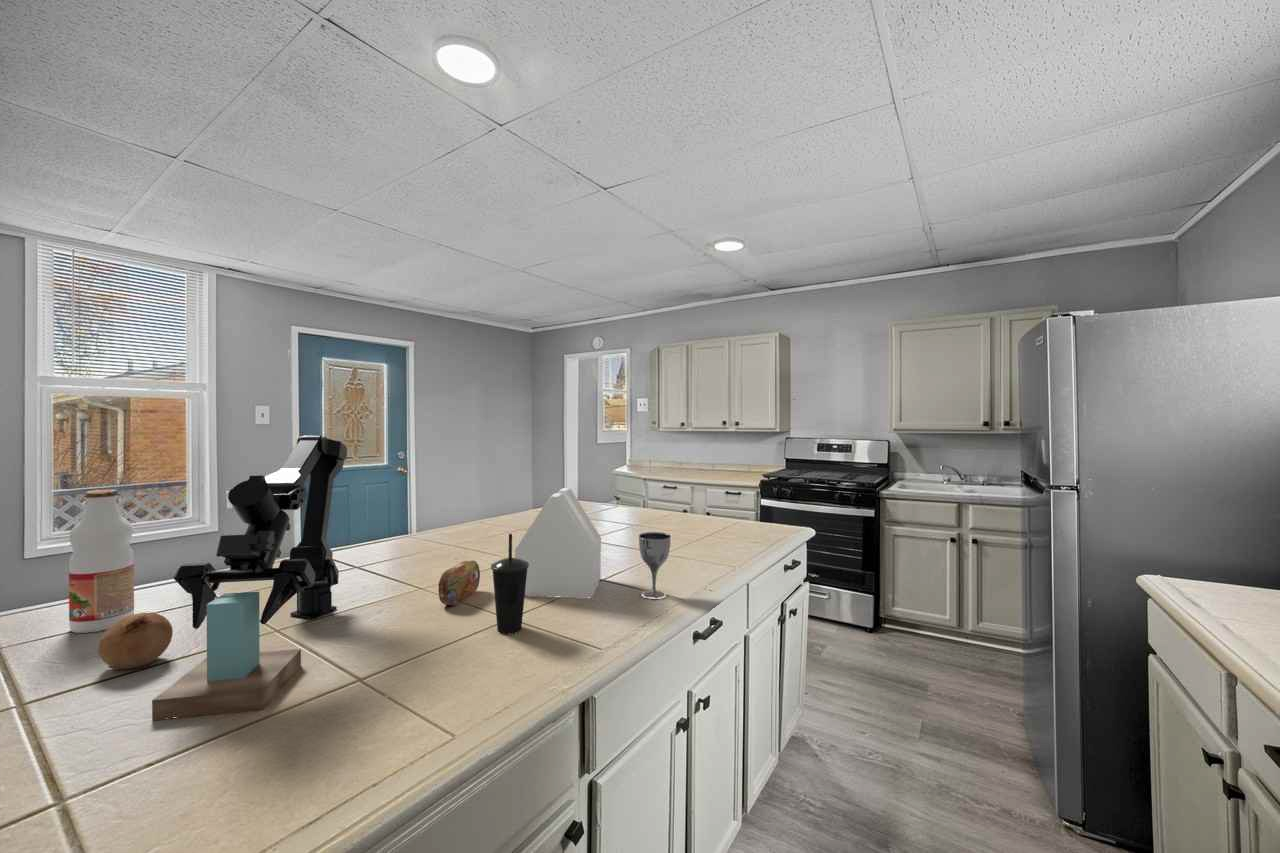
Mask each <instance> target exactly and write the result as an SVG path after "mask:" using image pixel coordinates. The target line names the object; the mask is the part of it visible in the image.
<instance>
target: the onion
mask: <svg viewBox="0 0 1280 853" xmlns="http://www.w3.org/2000/svg"><path fill="white" fill-rule="evenodd" d="M173 633H174V632H173V626H172V623H171V622H170V621H169V620H168V618H166V617H165V616H164V615H161V614H158V613H155V612H140V613H134V615H130V616H128V617H125V618H123V619H121V620H119V621H117V622H116V623H115V624H113V625H112V626H111V627H110V628H109V629H107V630H105V632H103V634H102V636H101V638H100V640H99V643H98V654H99V656H100V659H101V660H102V661H103V662H104V663H105V664H106V665H108V666H107V668H108V669H113V670H115V669H116V670H117V669H118V670H132V669H133V670H134V669H137V668H141V667H143V666H147V665H149V664H151V663H153V662H155V660H156V659H158V658H159V657H160V656H161V655H162V654H164V652H165V651H166V650H167V649H168V646H169V645H170V643H171V642H172V639H173Z"/></svg>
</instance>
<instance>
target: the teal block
mask: <svg viewBox="0 0 1280 853" xmlns="http://www.w3.org/2000/svg"><path fill="white" fill-rule="evenodd" d="M259 652H260V591H248V592H247V591H245V592H243V591H242V592H230V593H229V592H228V593H227V592H226V593H223V594H221V595H220V596H219V597H215V599H214V600H213V601H211V602H210V603H208V604H207V615H206V658H207V681H218V680H229V679H240V678H245V677H246V676H247V675H248V674H249V673H250V672H251V671H252V670H253V669H254V668H255V667H256V666H257V665H258V664H259V663H260V655H259Z"/></svg>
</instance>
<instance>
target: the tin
mask: <svg viewBox="0 0 1280 853" xmlns="http://www.w3.org/2000/svg"><path fill="white" fill-rule="evenodd" d="M480 579H481V571H480V567H479V564H478V563H477V561H476V560H465V561H464V560H463V561H461V562H460V563H457V564H456V565H454V566H452V567H450V568H449V569H446V570H445V571H444V572H443V573H442V574H441V576H440V578H439V582H438V596H439V597H438V598H439V599H438V600H439V602H441V603H442V605H445V606H453V607H454V606H458V605H459V604H461V603H462V602H463V601H465V600H467V599H468V598H469V597H471V596H473V595H474V594H475V593H476V591H477V590H478V587H479V584H480Z"/></svg>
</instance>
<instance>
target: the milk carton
mask: <svg viewBox="0 0 1280 853" xmlns="http://www.w3.org/2000/svg"><path fill="white" fill-rule="evenodd" d="M546 500H547V501H546V502H545V503H544V505H543V506H542V508H541V509H540V511H539V512H538V514H537V516H536V517H535V519H534V520H533V522H532V523H531V525H530V526H529V528H528V530H527V531H526V533H525V534H524V536H522V538H521V540H520V542H519V543H518V545H517V547H516V548H515V549H514V558H518V559H521V560H524V561H526V562H528V563H529V567H528V568H527V577H526V587H525V595H526V596H525V597H536V596H565V597H566V596H567V597H592V598H593V596H594V594H595V592H596V590H597V588H596V586H597V584H598V585H599V583H600V581H601V577H602V576H601V573H602V572H601V569H602V568H601V564H602V562H601V560H602V558H601V555H602V553H601V552H602V537H601V535H600V534H599V532H598V531H597V528H596V527H595V526H594V524H593V523H592V521H591V518H589V516H588V514H587V513H586V511H585V510H584V508H583V506H582V505H581V502H580V501H579V500H578V498H577V497H576V495H575V493H574V491H573V490H572V489H571V487H563V488H561V489H559V490H558V491H557V492H555V493H553V494H552V495H549V497H548V499H546ZM599 580H600V581H599ZM598 582H599V583H598ZM597 587H598V586H597ZM595 589H596V590H595ZM594 591H595V592H594ZM593 593H594V594H593ZM592 595H593V596H592Z"/></svg>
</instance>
